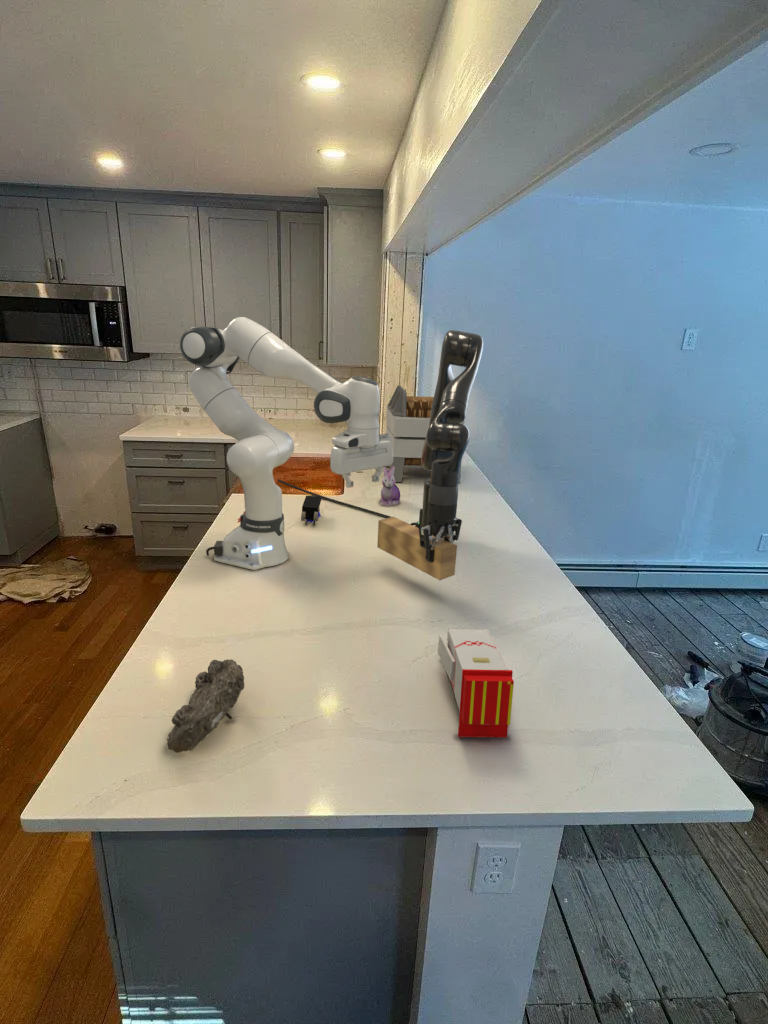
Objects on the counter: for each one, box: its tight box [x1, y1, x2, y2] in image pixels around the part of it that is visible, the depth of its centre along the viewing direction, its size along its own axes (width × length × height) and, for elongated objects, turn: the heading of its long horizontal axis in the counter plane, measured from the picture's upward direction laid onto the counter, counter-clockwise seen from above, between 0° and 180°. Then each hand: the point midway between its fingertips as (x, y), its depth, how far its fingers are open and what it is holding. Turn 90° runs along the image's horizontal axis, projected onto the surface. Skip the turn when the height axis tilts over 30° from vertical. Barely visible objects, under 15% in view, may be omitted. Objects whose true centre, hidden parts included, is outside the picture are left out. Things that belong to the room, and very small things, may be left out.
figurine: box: [379, 466, 401, 507], centre depth 228 cm, size 9×10×15 cm
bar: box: [376, 516, 458, 581], centre depth 159 cm, size 26×6×9 cm, turn 40°
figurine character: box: [300, 495, 323, 526], centre depth 207 cm, size 7×8×15 cm
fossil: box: [166, 658, 245, 754], centre depth 106 cm, size 22×10×15 cm
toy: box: [437, 628, 515, 738], centre depth 117 cm, size 12×13×30 cm
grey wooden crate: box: [385, 384, 465, 484], centre depth 268 cm, size 34×33×41 cm
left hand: (362, 484), depth 162 cm, fingers open, 8 cm apart
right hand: (438, 558), depth 153 cm, fingers closed on bar, 5 cm apart
